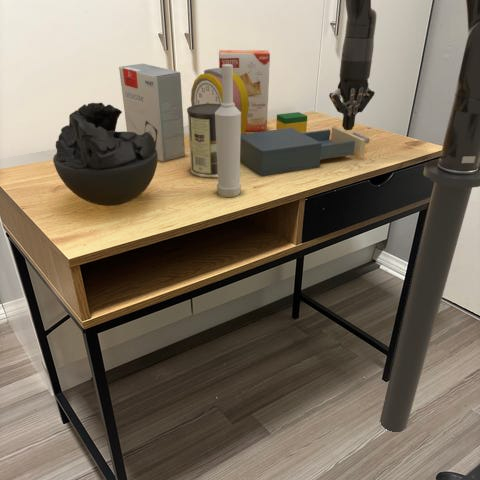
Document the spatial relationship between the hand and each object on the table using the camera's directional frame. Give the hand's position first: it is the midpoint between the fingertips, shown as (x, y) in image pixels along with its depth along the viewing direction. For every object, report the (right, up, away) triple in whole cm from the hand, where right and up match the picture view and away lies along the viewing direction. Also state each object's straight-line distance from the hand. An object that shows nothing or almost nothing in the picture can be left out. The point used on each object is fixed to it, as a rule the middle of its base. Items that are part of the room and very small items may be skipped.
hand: (347, 129), depth 136 cm
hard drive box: (-51, -7, -3) cm, 51 cm away
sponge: (-14, +1, +9) cm, 17 cm away
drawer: (-5, -7, -5) cm, 10 cm away
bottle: (-31, -24, -26) cm, 47 cm away
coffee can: (-36, -15, -14) cm, 41 cm away
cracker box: (-28, +6, +15) cm, 32 cm away
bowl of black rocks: (-55, -27, -31) cm, 69 cm away
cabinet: (-20, -12, -10) cm, 25 cm away
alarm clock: (-35, -1, +6) cm, 35 cm away
